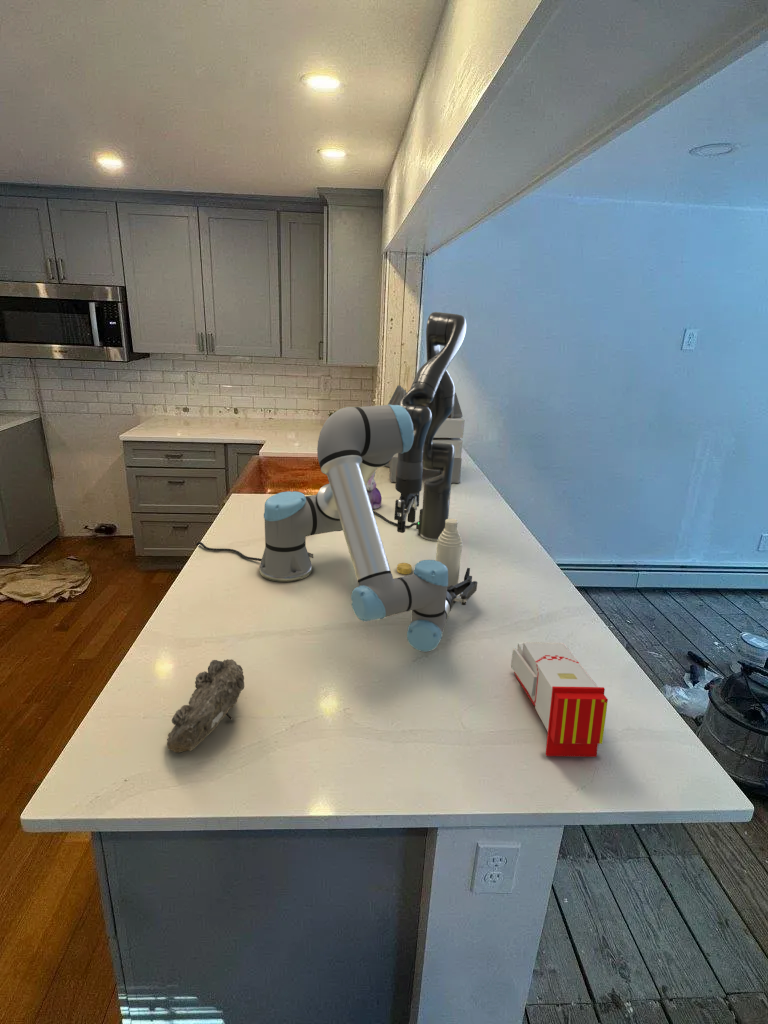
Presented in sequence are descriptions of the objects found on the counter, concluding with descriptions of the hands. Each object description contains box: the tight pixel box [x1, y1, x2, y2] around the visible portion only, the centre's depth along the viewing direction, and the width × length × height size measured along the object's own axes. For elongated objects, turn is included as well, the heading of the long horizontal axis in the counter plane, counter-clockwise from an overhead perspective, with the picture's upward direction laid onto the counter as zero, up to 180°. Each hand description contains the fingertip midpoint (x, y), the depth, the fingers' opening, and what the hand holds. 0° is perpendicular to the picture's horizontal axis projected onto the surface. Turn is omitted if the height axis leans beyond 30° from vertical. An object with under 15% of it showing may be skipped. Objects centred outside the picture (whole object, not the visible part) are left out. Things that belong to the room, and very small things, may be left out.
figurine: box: [365, 471, 383, 510], centre depth 223 cm, size 9×10×15 cm
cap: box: [396, 562, 413, 575], centre depth 171 cm, size 4×4×2 cm
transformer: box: [384, 384, 465, 484], centre depth 268 cm, size 34×33×41 cm
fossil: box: [166, 658, 245, 754], centre depth 106 cm, size 22×10×15 cm
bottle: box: [435, 518, 463, 587], centre depth 153 cm, size 7×7×23 cm
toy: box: [510, 641, 609, 758], centre depth 113 cm, size 12×13×30 cm
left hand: (450, 569), depth 159 cm, fingers open, 9 cm apart
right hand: (406, 527), depth 167 cm, fingers open, 8 cm apart
